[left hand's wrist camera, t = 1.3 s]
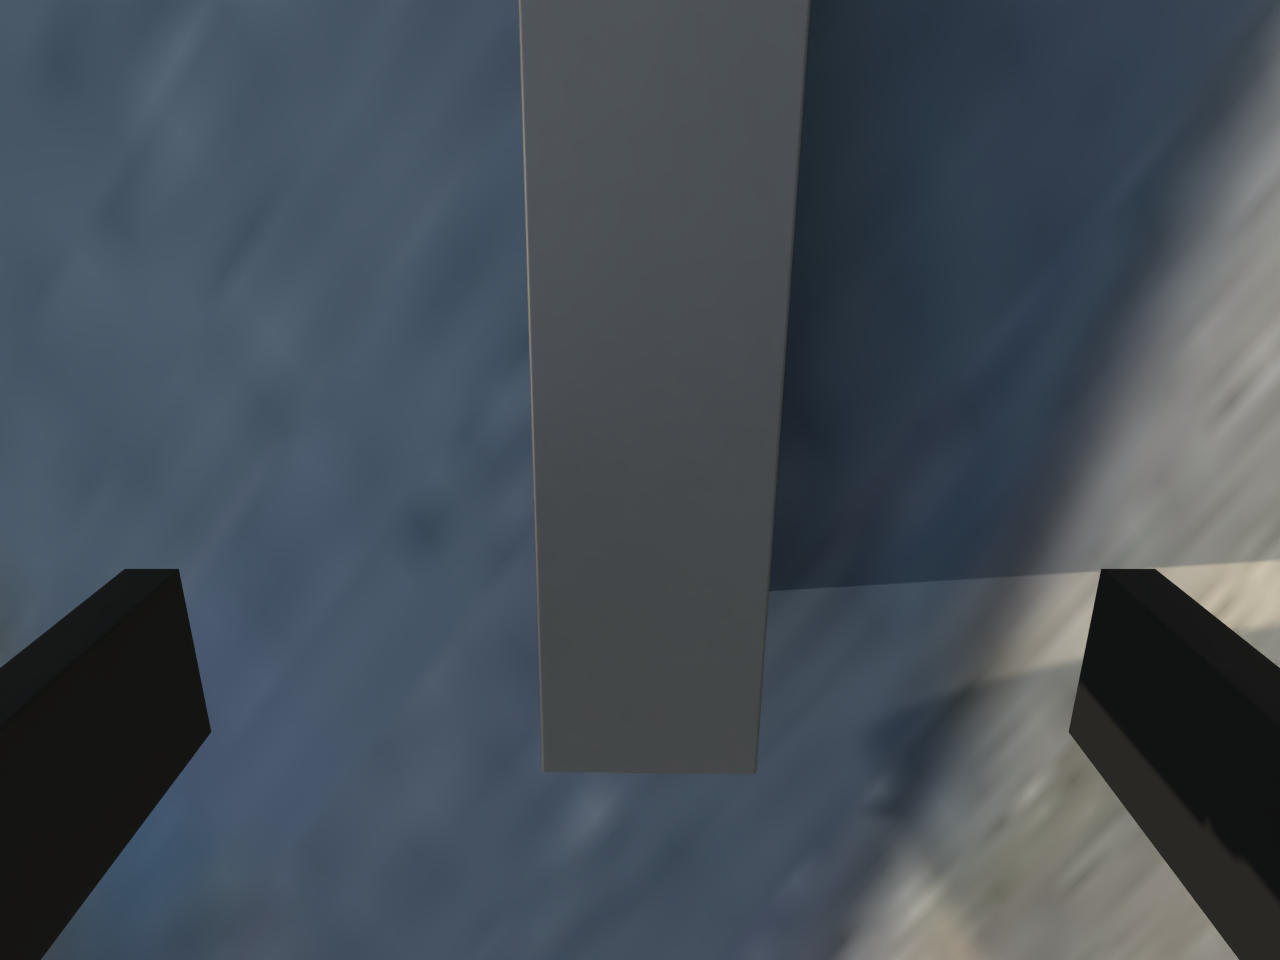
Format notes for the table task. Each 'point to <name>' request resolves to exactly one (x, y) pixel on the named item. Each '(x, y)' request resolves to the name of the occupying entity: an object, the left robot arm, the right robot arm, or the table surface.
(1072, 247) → the table surface
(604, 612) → the bar
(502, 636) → the table surface
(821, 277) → the table surface
